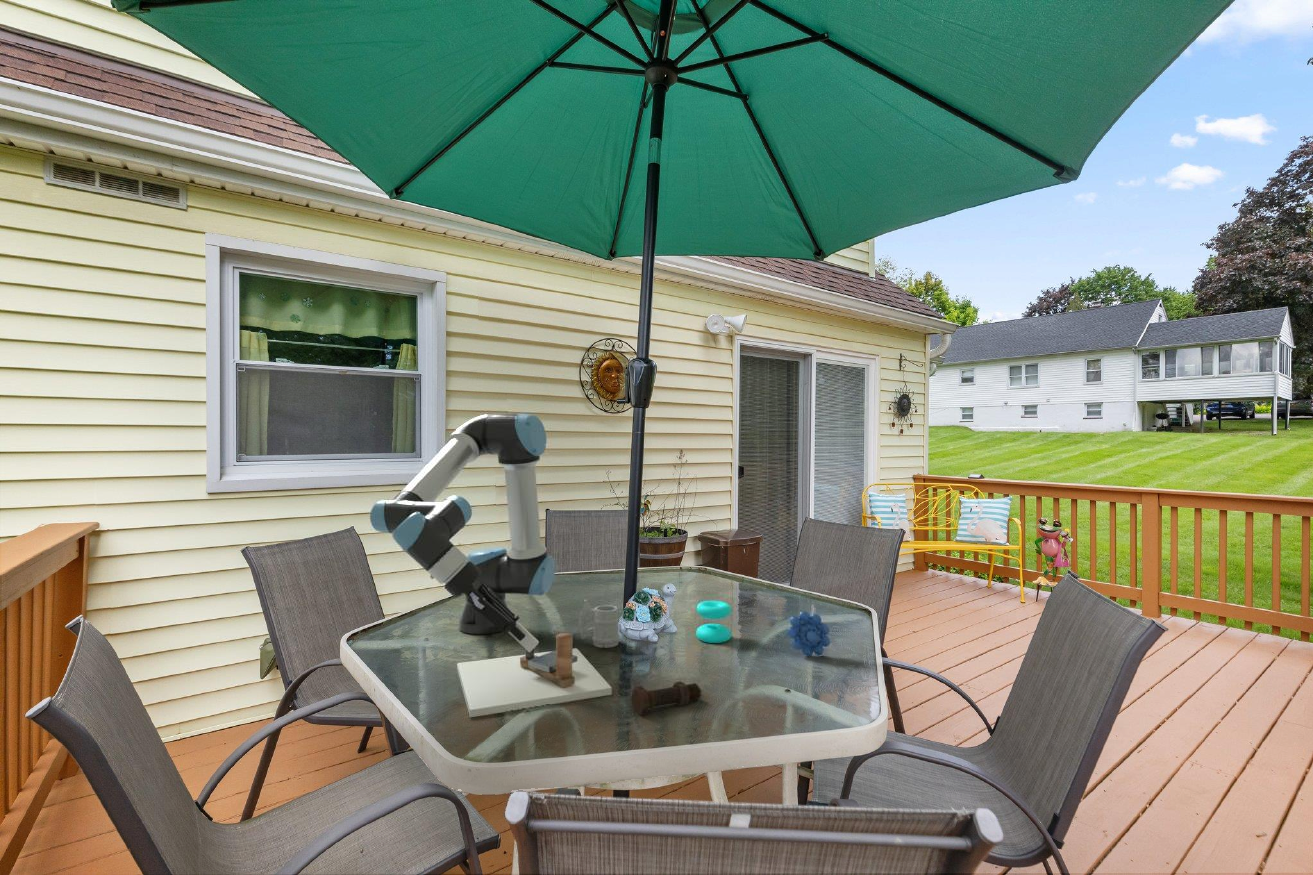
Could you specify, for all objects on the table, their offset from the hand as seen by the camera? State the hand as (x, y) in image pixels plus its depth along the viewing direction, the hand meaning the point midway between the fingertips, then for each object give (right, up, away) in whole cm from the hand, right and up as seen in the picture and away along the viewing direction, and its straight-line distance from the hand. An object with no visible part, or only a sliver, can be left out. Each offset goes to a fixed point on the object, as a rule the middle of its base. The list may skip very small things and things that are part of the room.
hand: (534, 646), depth 131 cm
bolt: (+29, -11, -5) cm, 32 cm away
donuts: (+43, -12, +40) cm, 61 cm away
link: (+1, -9, +8) cm, 12 cm away
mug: (+11, -12, +35) cm, 38 cm away
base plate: (-2, -11, +8) cm, 13 cm away
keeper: (+3, -11, +9) cm, 14 cm away
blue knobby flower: (+67, -12, +26) cm, 73 cm away
